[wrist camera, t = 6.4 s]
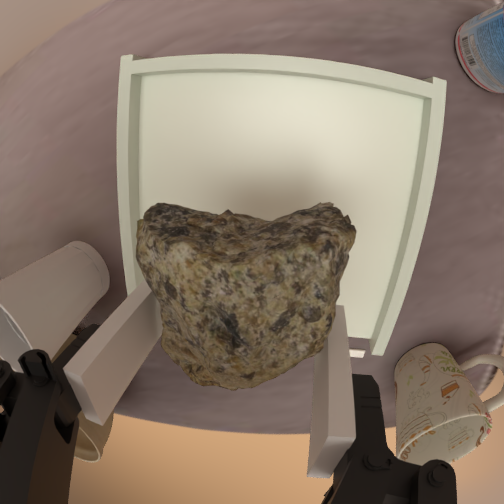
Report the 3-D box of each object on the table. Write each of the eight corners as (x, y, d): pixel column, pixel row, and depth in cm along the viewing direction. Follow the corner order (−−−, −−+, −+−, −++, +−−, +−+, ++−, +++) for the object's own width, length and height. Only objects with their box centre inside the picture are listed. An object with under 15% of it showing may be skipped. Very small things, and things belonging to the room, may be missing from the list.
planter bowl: (27, 293, 31) (-29, 340, 22) (129, 331, 30) (74, 405, 20) (56, 379, 38) (19, 425, 28) (145, 417, 36) (113, 478, 27)
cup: (48, 263, 28) (-29, 320, 18) (75, 216, 25) (-21, 272, 15) (95, 316, 30) (29, 389, 19) (130, 278, 27) (50, 361, 16)
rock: (333, 353, 14) (334, 430, 10) (174, 338, 15) (135, 401, 11) (350, 201, 11) (372, 246, 7) (152, 198, 12) (85, 235, 8)
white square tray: (142, 300, 28) (130, 315, 25) (138, 60, 19) (121, 56, 17) (378, 336, 25) (382, 355, 23) (432, 84, 16) (446, 81, 14)
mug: (373, 353, 26) (388, 443, 17) (491, 299, 22) (541, 370, 13) (392, 402, 28) (404, 480, 19) (493, 357, 24) (527, 425, 15)
